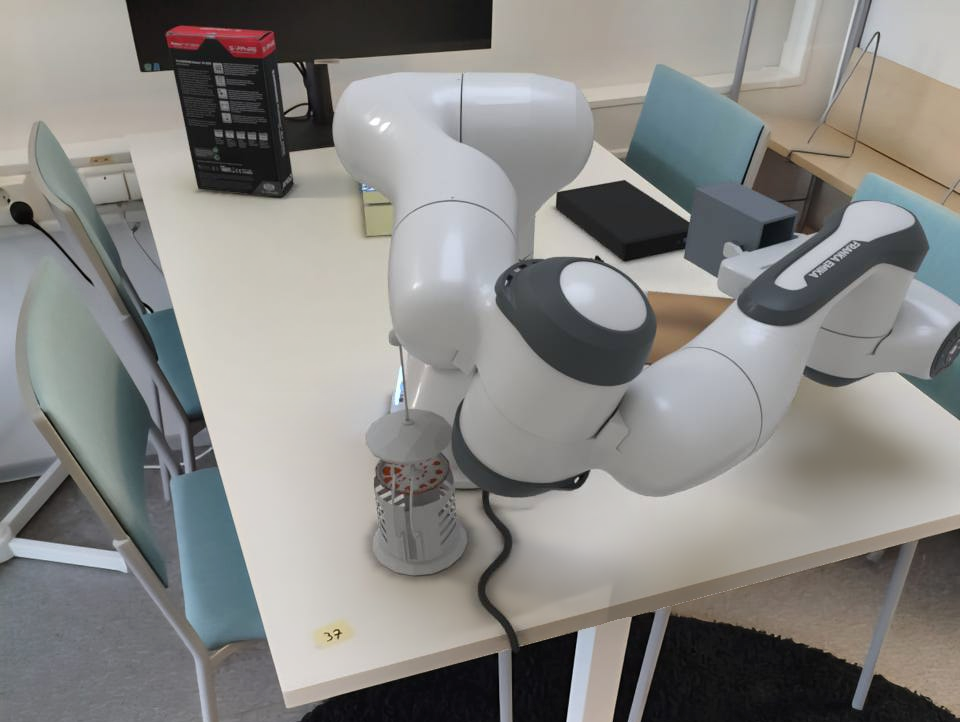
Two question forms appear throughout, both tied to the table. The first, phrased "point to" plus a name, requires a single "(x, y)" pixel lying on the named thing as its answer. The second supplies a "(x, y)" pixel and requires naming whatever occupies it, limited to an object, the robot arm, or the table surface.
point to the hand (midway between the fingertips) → (750, 240)
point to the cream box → (377, 212)
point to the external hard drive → (624, 219)
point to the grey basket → (734, 223)
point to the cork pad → (681, 319)
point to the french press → (414, 490)
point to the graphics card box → (232, 109)
